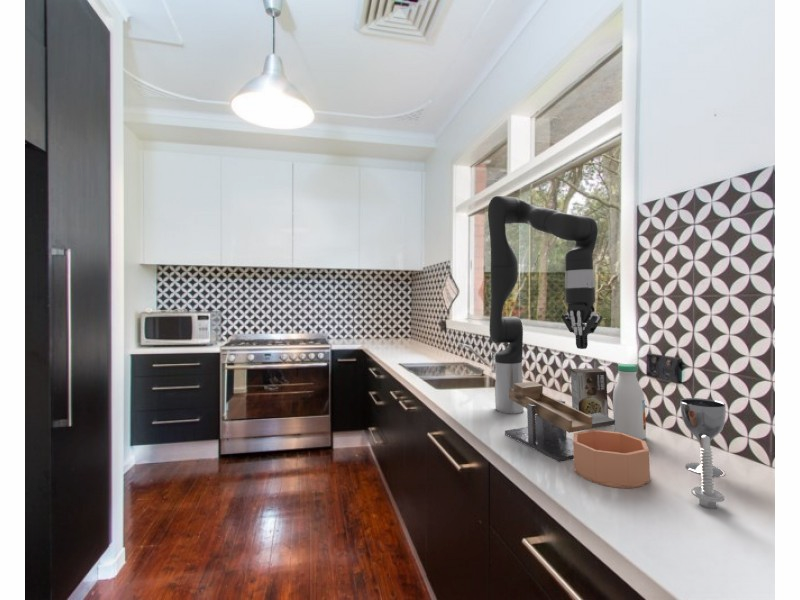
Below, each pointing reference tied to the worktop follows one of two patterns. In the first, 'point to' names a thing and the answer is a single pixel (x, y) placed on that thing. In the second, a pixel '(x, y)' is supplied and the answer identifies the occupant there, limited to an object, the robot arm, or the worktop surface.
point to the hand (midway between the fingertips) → (581, 348)
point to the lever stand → (544, 437)
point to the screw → (707, 478)
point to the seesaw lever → (556, 409)
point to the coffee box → (589, 390)
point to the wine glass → (703, 423)
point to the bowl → (611, 459)
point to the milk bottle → (629, 403)
